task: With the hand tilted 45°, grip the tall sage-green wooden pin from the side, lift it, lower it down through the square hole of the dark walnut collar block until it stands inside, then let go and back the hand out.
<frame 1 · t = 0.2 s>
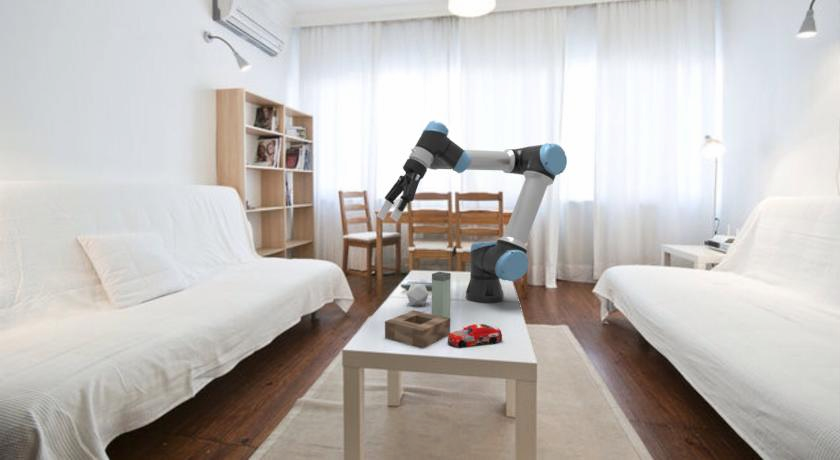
hand: (386, 218, 136), 34 cm above the table, fingers open, 13 cm apart
race car: (474, 343, 122), on the table
die: (417, 305, 162), on the table
pin: (440, 320, 142), on the table
collar block: (417, 335, 127), on the table
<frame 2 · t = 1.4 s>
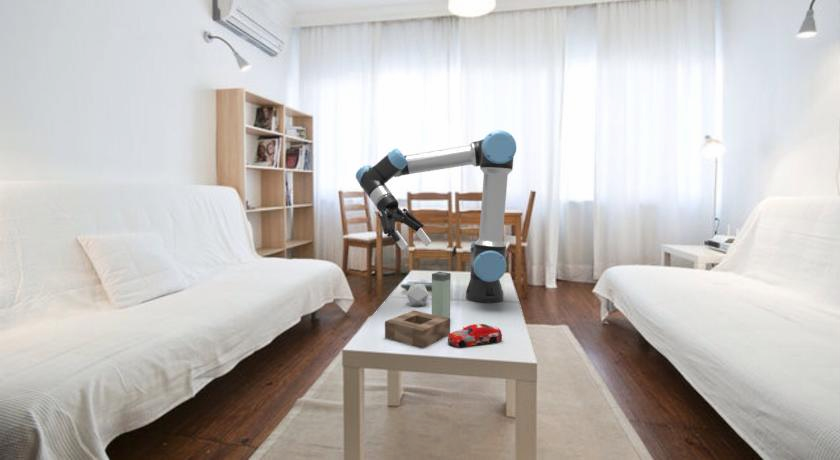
hand: (417, 245, 146), 24 cm above the table, fingers open, 13 cm apart
nothing on the table moved.
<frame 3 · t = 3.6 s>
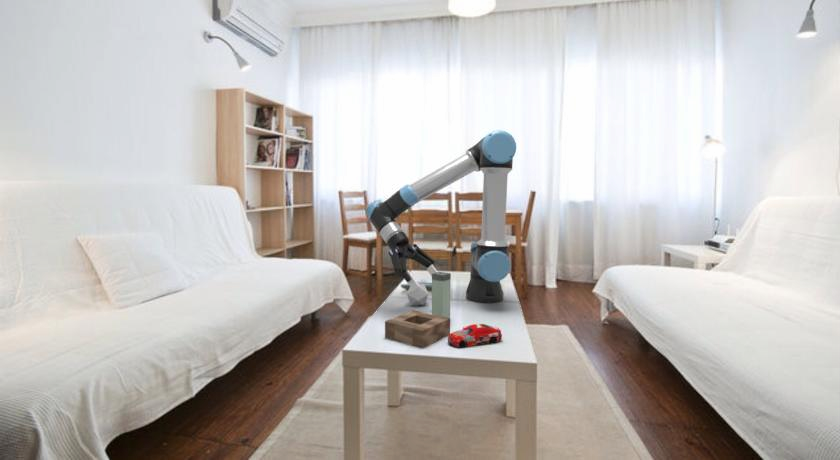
hand: (428, 284, 143), 12 cm above the table, fingers open, 13 cm apart
nothing on the table moved.
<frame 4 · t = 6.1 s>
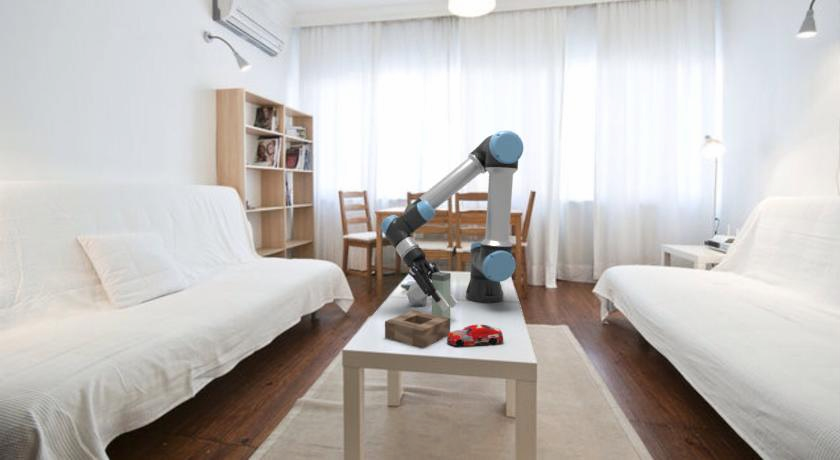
hand: (450, 306, 139), 5 cm above the table, fingers closed on pin, 4 cm apart
pin: (440, 320, 142), on the table, touching gripper
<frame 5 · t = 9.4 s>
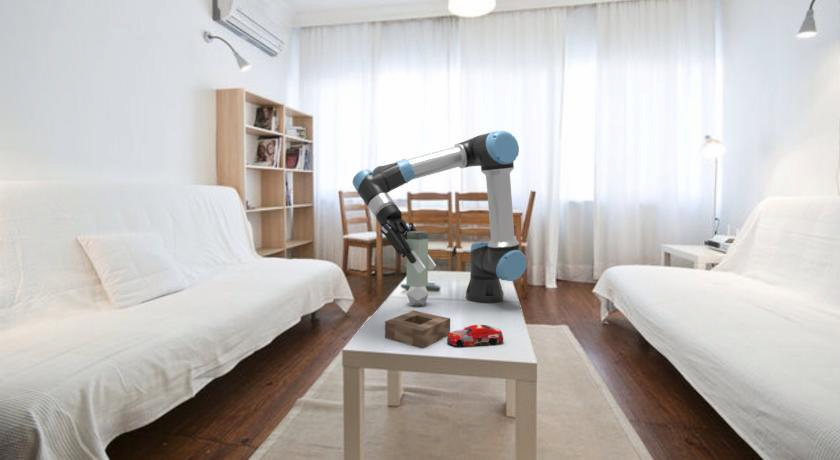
hand: (427, 269, 123), 21 cm above the table, fingers closed on pin, 4 cm apart
pin: (417, 285, 126), point 15 cm above the table, touching gripper
everything else where it was.
when the fingers open (7 cm above the table, at t = 13.0 s): pin drops 1 cm, resting in collar block.
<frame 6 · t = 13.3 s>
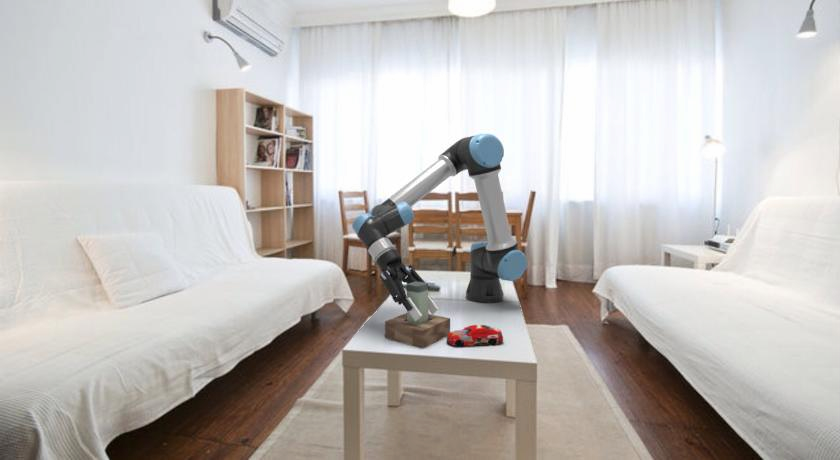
hand: (427, 314, 124), 7 cm above the table, fingers open, 8 cm apart
pin: (417, 335, 127), resting in collar block
everything else where it was.
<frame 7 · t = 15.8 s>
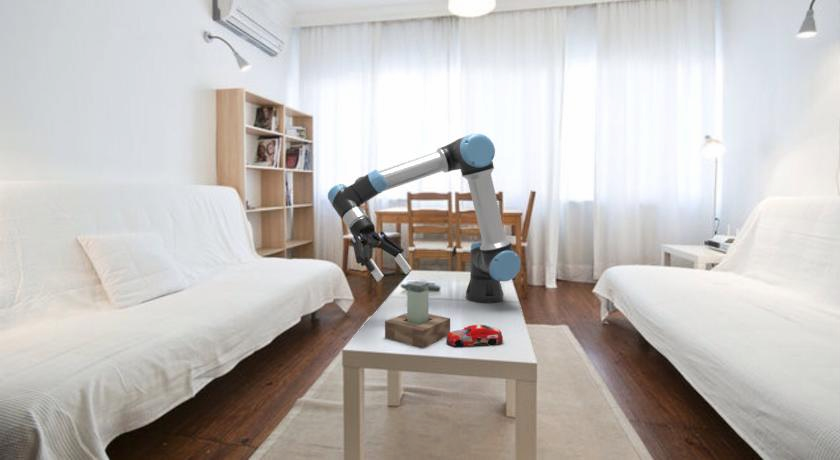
hand: (395, 275, 130), 18 cm above the table, fingers open, 13 cm apart
nothing on the table moved.
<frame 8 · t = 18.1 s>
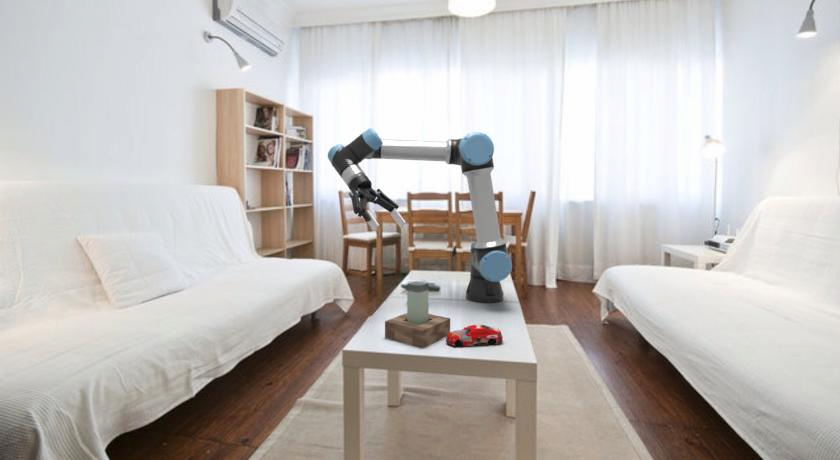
hand: (390, 226, 139), 32 cm above the table, fingers open, 13 cm apart
nothing on the table moved.
at the end: pin 0.1 cm off-centre on the collar block, point 0.0 cm above the collar block's base; pin tilted 0°; the gripper is holding nothing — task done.
